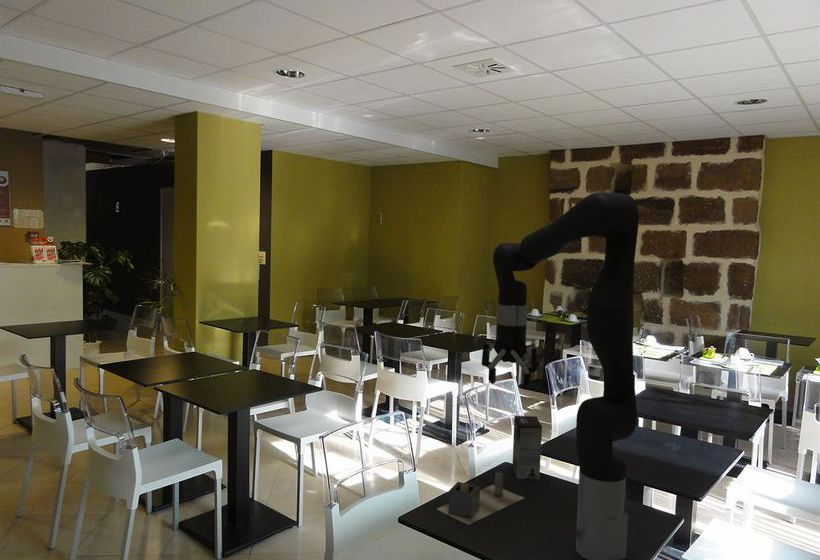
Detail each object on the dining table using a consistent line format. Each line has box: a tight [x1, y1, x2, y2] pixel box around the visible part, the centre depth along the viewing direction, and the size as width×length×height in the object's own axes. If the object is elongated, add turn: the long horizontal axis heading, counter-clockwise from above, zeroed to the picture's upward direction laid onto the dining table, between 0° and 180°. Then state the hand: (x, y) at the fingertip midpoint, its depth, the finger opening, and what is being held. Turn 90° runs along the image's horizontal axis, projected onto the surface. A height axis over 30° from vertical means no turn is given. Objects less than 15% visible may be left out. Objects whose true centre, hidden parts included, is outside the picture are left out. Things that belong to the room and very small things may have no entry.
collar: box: [448, 481, 481, 519], centre depth 138 cm, size 6×6×6 cm
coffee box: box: [512, 415, 543, 480], centre depth 162 cm, size 9×6×16 cm
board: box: [436, 472, 525, 525], centre depth 143 cm, size 21×10×8 cm, turn 133°
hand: (509, 385), depth 151 cm, fingers open, 8 cm apart
